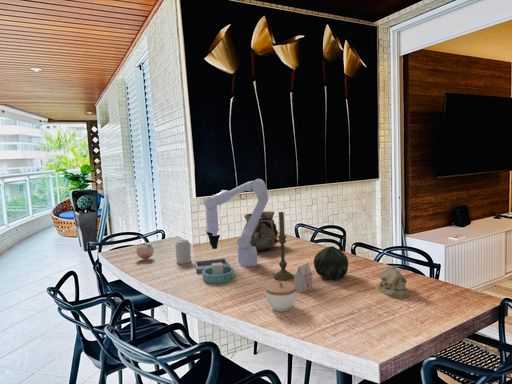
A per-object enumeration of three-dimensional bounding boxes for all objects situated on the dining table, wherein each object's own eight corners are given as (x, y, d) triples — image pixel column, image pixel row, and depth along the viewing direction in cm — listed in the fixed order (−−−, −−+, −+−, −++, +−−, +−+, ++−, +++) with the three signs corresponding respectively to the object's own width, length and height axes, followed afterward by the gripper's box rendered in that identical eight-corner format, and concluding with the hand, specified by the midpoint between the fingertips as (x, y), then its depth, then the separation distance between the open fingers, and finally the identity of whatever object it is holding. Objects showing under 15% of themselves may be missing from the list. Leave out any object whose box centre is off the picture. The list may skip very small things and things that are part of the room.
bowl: (231, 271, 170) (230, 264, 170) (236, 281, 157) (236, 273, 156) (201, 275, 167) (201, 267, 167) (204, 285, 153) (204, 277, 153)
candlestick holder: (295, 274, 162) (293, 209, 160) (291, 281, 154) (288, 212, 151) (276, 273, 165) (274, 209, 163) (270, 279, 157) (268, 212, 154)
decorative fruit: (157, 257, 202) (155, 240, 201) (151, 261, 194) (150, 243, 193) (141, 257, 203) (139, 240, 202) (134, 261, 195) (133, 243, 194)
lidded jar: (264, 303, 132) (263, 278, 131) (293, 300, 133) (292, 276, 132) (268, 315, 121) (267, 288, 120) (299, 313, 122) (298, 286, 121)
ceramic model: (372, 286, 145) (372, 262, 144) (399, 284, 146) (399, 260, 145) (388, 299, 131) (388, 273, 130) (418, 297, 132) (418, 270, 131)
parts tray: (225, 262, 186) (225, 258, 185) (230, 270, 172) (229, 265, 172) (194, 266, 182) (194, 261, 182) (197, 274, 168) (196, 269, 168)
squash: (329, 256, 169) (317, 237, 161) (358, 263, 159) (346, 243, 150) (316, 282, 163) (302, 263, 155) (345, 291, 152) (332, 271, 144)
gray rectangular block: (222, 275, 164) (221, 262, 164) (223, 277, 160) (222, 264, 160) (212, 276, 163) (211, 263, 163) (213, 279, 159) (212, 265, 159)
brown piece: (256, 242, 229) (254, 209, 227) (288, 246, 215) (287, 210, 213) (231, 251, 208) (229, 215, 207) (264, 256, 195) (263, 217, 193)
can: (187, 265, 184) (186, 242, 183) (174, 265, 186) (172, 242, 184) (193, 261, 191) (191, 239, 190) (180, 260, 193) (178, 239, 192)
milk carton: (295, 290, 143) (294, 266, 142) (304, 286, 148) (304, 262, 147) (302, 293, 140) (302, 268, 139) (312, 288, 145) (311, 263, 144)
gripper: (202, 219, 186) (204, 244, 187) (205, 223, 172) (207, 251, 173) (216, 218, 188) (217, 243, 189) (220, 222, 174) (221, 249, 175)
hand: (213, 247), depth 181 cm, fingers open, 7 cm apart
